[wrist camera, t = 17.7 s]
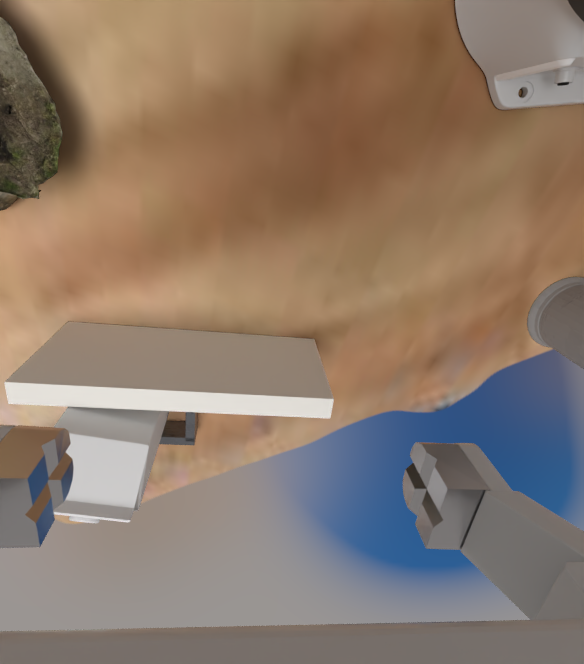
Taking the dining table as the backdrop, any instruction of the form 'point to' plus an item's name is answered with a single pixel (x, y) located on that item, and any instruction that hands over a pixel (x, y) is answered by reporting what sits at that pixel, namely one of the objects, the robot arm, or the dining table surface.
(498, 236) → the dining table surface
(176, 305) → the dining table surface
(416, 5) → the dining table surface
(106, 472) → the milk carton
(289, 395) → the wall board
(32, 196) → the hollow geode rock
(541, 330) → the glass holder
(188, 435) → the cleat bracket
